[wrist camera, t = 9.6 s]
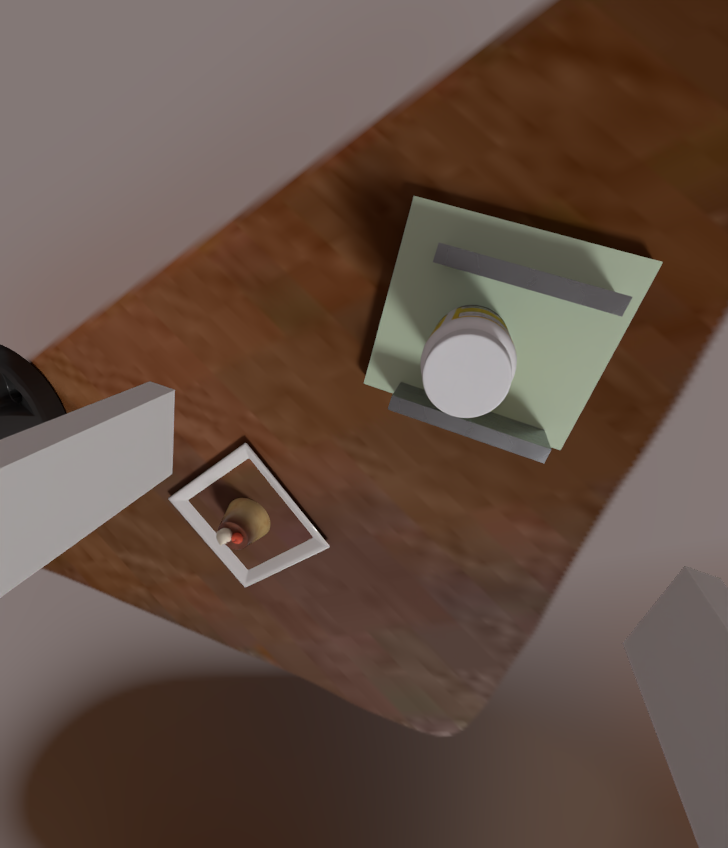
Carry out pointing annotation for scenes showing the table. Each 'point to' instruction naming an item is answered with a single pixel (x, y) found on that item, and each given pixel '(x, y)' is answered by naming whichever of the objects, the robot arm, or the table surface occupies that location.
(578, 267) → the board
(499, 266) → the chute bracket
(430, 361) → the supplement bottle
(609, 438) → the table surface
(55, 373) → the table surface
